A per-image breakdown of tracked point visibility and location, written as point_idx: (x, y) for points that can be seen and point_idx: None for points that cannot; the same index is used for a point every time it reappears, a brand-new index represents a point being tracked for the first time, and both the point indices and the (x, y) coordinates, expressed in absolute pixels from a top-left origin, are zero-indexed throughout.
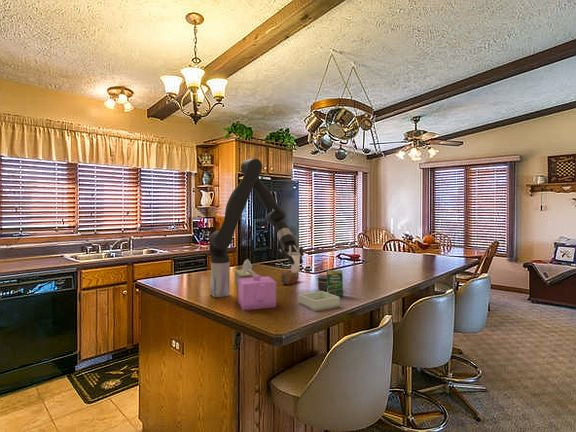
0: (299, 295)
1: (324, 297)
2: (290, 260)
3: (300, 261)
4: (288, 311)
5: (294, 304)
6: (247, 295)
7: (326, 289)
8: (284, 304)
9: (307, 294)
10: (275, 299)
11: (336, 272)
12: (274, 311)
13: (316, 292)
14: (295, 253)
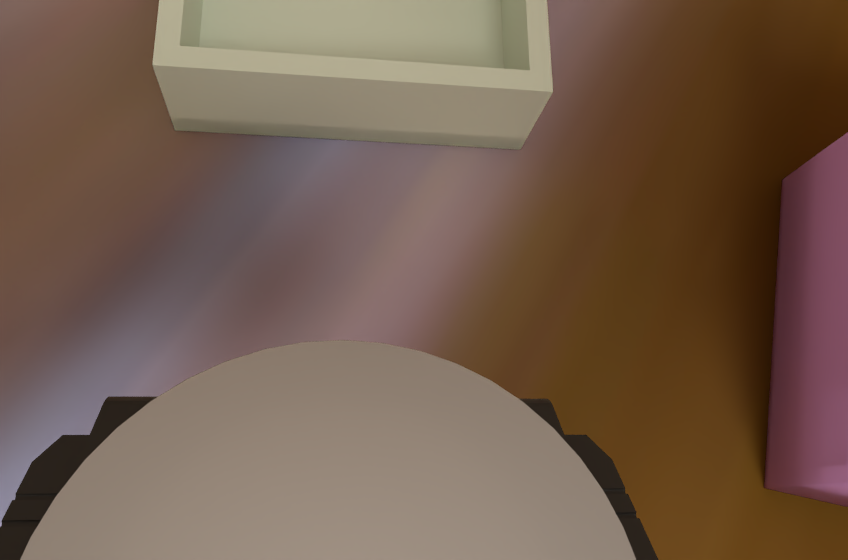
0: (549, 70)
1: (194, 30)
2: (625, 519)
3: None
4: (724, 5)
5: (566, 159)
6: None
7: None
8: (665, 217)
9: (422, 69)
10: (842, 144)
11: None
12: (841, 72)
13: (272, 54)
14: (496, 393)
